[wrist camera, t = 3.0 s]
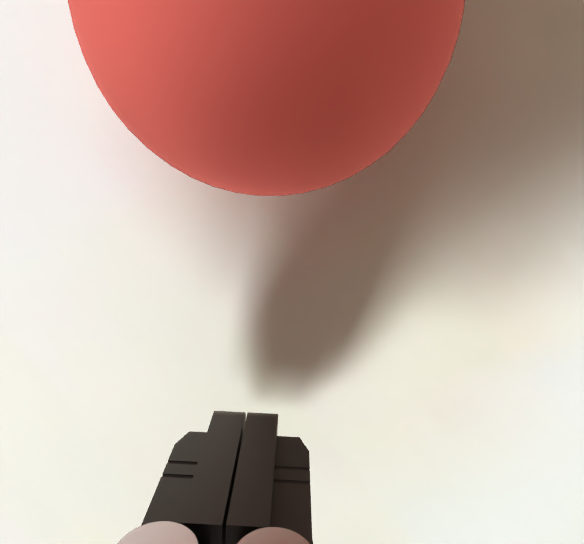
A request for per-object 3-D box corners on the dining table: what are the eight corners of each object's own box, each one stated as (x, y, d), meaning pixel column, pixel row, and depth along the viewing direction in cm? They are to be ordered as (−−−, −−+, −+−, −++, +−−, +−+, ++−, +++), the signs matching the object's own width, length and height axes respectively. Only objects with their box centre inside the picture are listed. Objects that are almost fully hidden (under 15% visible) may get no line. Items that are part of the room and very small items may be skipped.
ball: (432, -103, 10) (612, -444, 4) (396, 191, 12) (494, 237, 6) (141, -123, 10) (-79, -495, 4) (143, 174, 12) (-17, 201, 6)
